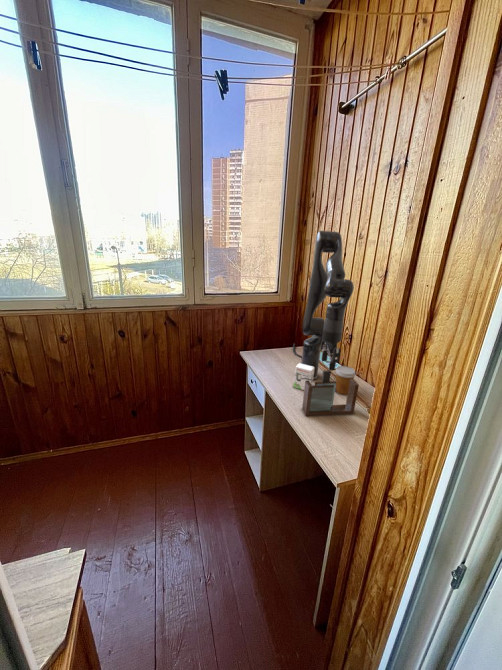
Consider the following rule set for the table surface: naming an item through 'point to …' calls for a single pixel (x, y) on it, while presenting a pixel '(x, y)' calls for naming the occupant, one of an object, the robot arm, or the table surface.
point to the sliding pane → (327, 382)
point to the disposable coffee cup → (344, 378)
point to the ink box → (303, 375)
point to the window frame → (327, 399)
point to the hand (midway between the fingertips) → (327, 365)
